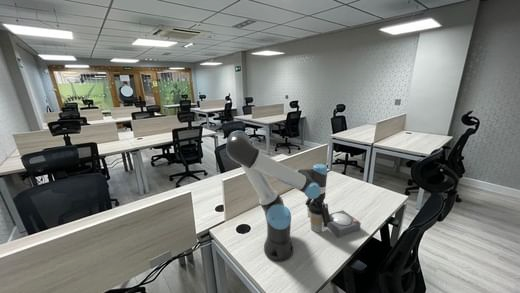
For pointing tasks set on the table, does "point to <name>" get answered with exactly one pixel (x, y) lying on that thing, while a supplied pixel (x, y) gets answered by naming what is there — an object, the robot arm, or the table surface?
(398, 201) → the table surface
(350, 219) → the grey dome button box
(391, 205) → the table surface
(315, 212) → the coffee cup
